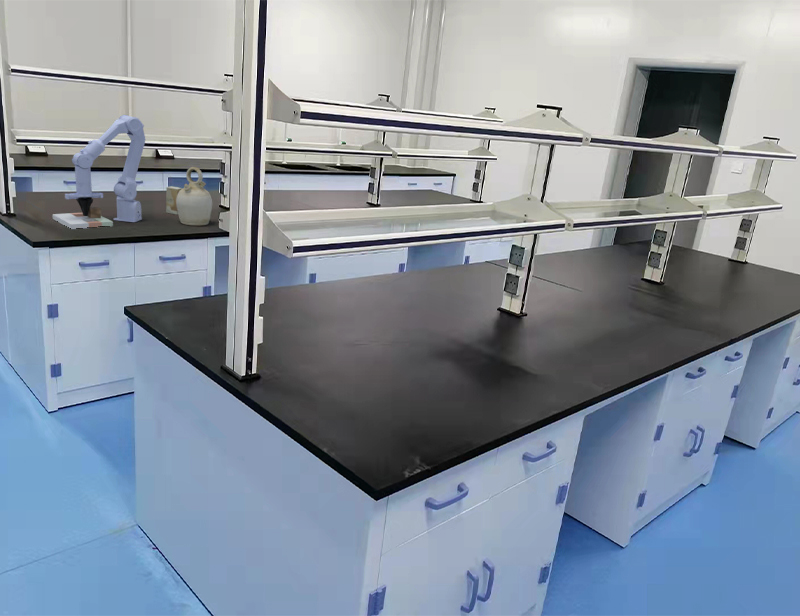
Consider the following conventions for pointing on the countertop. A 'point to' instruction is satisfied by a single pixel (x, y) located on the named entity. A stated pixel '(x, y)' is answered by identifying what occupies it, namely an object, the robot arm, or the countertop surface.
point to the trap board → (81, 220)
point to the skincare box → (172, 199)
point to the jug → (194, 201)
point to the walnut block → (94, 212)
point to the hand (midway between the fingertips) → (85, 215)
